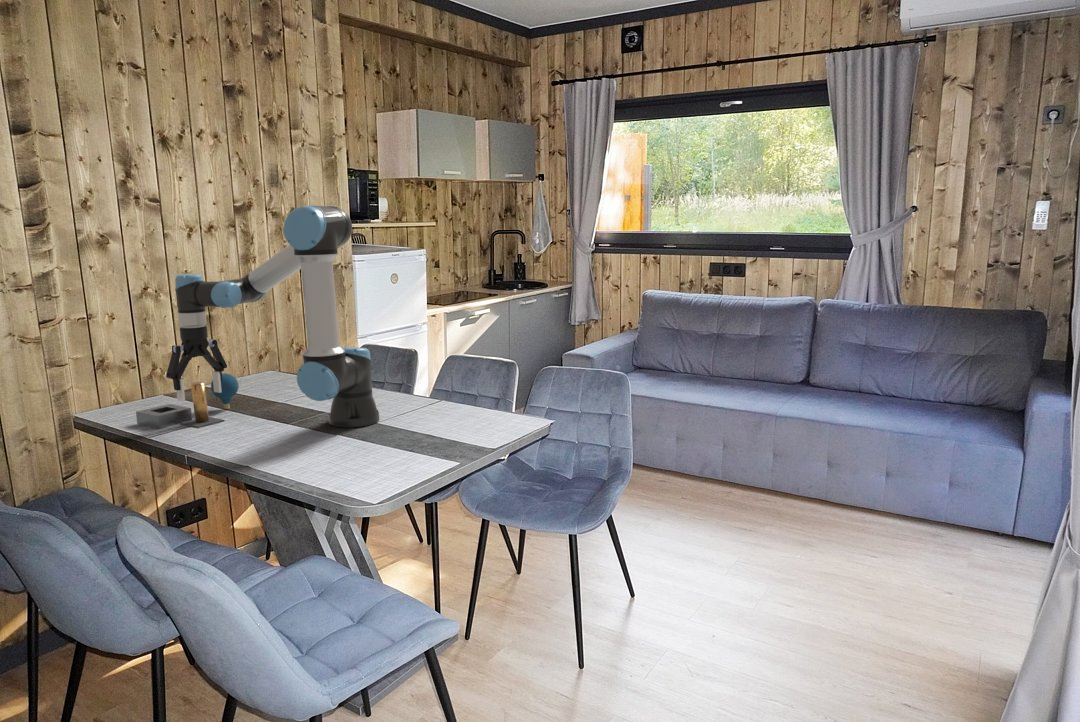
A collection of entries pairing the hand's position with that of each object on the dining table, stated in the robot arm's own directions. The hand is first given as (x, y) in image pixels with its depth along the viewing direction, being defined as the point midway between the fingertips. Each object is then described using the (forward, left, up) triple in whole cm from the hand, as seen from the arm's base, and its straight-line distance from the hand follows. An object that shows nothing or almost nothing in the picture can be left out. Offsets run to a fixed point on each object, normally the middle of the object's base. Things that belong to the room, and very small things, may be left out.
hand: (199, 396), depth 231 cm
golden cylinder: (0, 0, -8) cm, 8 cm away
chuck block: (+11, +6, -8) cm, 14 cm away
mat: (0, 0, -8) cm, 8 cm away
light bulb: (+8, -14, -9) cm, 18 cm away
